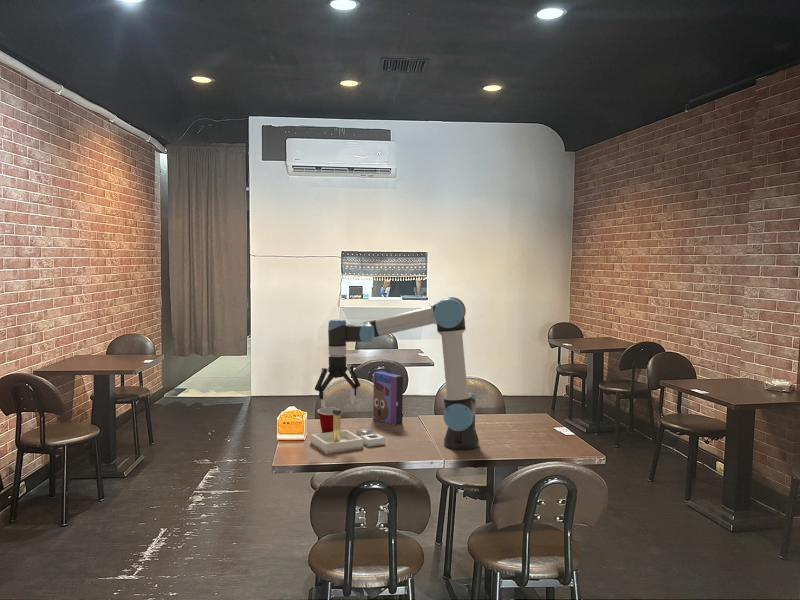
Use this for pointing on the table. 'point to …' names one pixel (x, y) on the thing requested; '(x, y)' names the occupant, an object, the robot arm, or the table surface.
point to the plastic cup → (326, 419)
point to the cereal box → (388, 397)
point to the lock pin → (336, 425)
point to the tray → (346, 442)
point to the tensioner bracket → (370, 437)
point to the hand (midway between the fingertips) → (338, 405)
